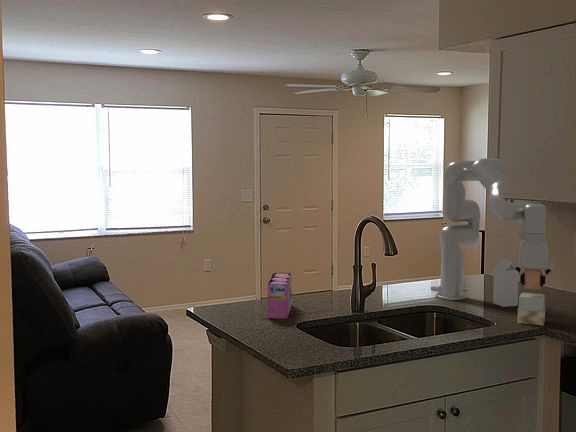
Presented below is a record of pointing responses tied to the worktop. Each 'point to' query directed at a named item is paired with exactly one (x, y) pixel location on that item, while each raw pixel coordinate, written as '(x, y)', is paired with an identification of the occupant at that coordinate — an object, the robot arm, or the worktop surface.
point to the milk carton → (505, 284)
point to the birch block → (531, 317)
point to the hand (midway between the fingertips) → (532, 285)
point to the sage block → (531, 302)
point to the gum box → (279, 296)
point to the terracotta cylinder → (532, 278)
